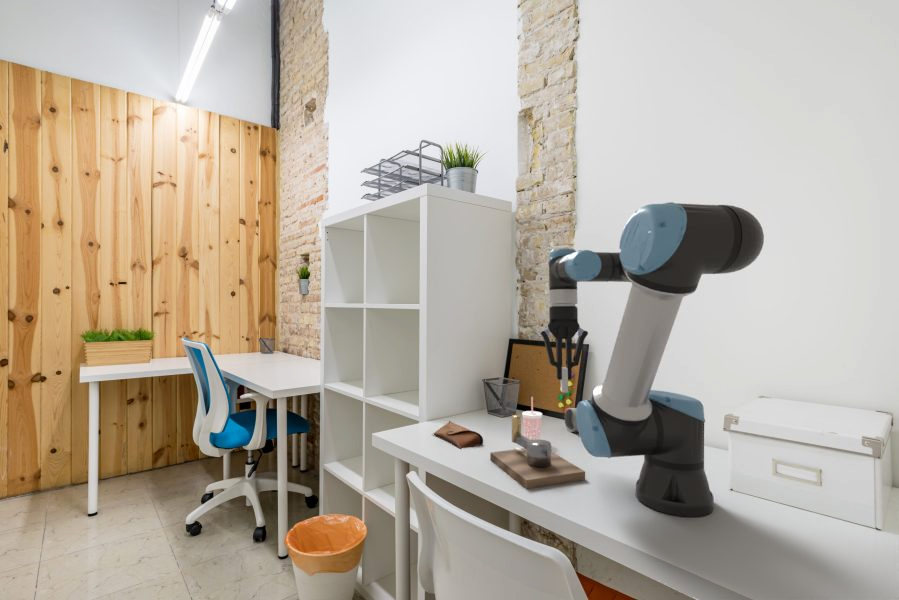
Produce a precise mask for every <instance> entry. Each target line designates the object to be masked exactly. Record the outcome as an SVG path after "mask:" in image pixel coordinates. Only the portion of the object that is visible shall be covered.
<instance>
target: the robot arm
mask: <svg viewBox="0 0 899 600" xmlns="http://www.w3.org/2000/svg"><path fill="white" fill-rule="evenodd" d="M761 225H762V224H761V223H760V221H759V220H758V219H757V217H755V215H753V214H752V213H751V212H749V211H748V210H746V209H744V208H741V207H739V206H734V205H730V204H729V205H728V204H701V203H700V204H698V203H697V204H695V203H677V202H676V203H675V202H673V201H671V202H663V203H649V204H646V205H644V206H641V207H640V208H639V209H637V210H636V211H635V212H634V213H633V214H632V215H631V216H630V217H629V218H628V220H627V221H626V224H625V225H624V227H623V229H622V232H621V235H620V240H619V250H620V251H619V252H609V251H608V252H607V251H606V252H605V251H604V252H603V251H602V252H600V251H599V252H597V251H592V250H590V249H583V250H582V249H581V250H577V251H576V249H574V248H557V249H556V248H555V249H552V250H550V251H549V253H548V255H549V256H548V263H547V264H548V285H549V287H548V288H549V289H548V291H549V292H548V293H549V295H548V297H549V298H548V299H549V305H551V306H549V312H548V313H549V314H548V315H549V316H548V317H549V322H548V324H547V327H546V328H545V329H542V330H541V331H540V332H539V333H540V336H541V337H542V339H543V341H544V346H545V350H546V353H547V354H546V355H547V358H548V362H549V364H550V365H551V366H553V367H555V368H556V379H557V380H559V381H560V392H562V393H563V394H564V393H565V394H566V393H569V381H570V380H572V377H573V376H572V375H573V374H572V371H573V370H572V368H573V367H577V366H579V364H580V359H581V356H582V355H581V354H582V351H583V346H584V344H585V343H584V342H585V339H586V337H587V336H588V334H589V332H588V331H587V330H584V329H583V328H581V327H580V323H579V322H578V321H579V320H578V314H579V313H578V310H579V309H578V306H576V305H577V304H578V282H579V283H580V282H584V283H585V282H587V283H589V282H590V283H591V282H592V283H593V282H598V283H599V282H601V283H602V282H603V283H604V282H611V283H612V282H617V283H618V282H619V283H620V282H622V283H623V282H624V283H631V287H630V291H629V293H628V298H627V301H626V305H625V307H624V311H623V315H622V318H621V322H620V326H619V329H618V332H617V336H616V339H615V343H614V346H613V349H612V354H611V357H610V361H609V365H608V366H607V367H608V368H607V370H606V374H605V378H604V382H601V383H599V384H598V385H596V386H595V387H594V389H593V392H592V395H591V399H590V400H588V399H584V400H581V401H579V402H578V403H577V405H576V408H577V410H576V420H577V427H578V431H579V432H578V434H579V437H580V441H581V443H582V446H583V447H584V449H585V450H586V451H587V453H589V454H590V455H591V456H593V457H595V458H608V459H611V458H621V457H635V456H636V457H637V456H638V457H639V456H643V458H644V459H643V462H642V463H643V464H642V466H641V469H640V473H639V477H638V479H637V481H636V483H635V497H636V498H637V500H638V501H639V502H640V503H642V505H644V506H646V507H648V508H650V509H653V510H655V511H658V512H660V513H662V514H663V513H664V514H666V515H667V514H668V515H673V516H678V517H688V518H689V517H690V518H694V517H695V518H696V517H703V516H708V515H710V514H711V513H713V511H714V508H715V501H714V500H715V499H714V494H713V493H712V491H711V490H710V485H709V481H708V477H707V475H706V471H705V423H706V420H705V419H706V418H705V411H704V410H705V409H704V405H703V403H702V402H701V401H700V400H698V399H697V398H694V397H692V396H688V395H684V394H680V393H677V392H676V393H675V392H671V391H664V390H657V389H655V390H654V389H652V386H653V384H654V380H655V378H656V375H657V372H658V370H659V367H660V364H661V362H662V358H663V355H664V353H665V350H666V347H667V344H668V341H669V338H670V335H671V332H672V329H673V327H674V325H675V321H676V318H677V316H678V312H679V310H680V308H681V307H680V306H681V304H682V301H683V299H684V297H686V296H688V295H689V296H690V295H691V294H692V295H693V294H694V293H695V292H696V291H697V289H698V285H699V283H700V280H701V277H702V275H707V274H708V275H716V274H719V275H720V274H722V275H723V274H730V273H731V274H732V273H735V272H738V271H741V270H743V269H745V268H747V267H749V266H751V265H752V264H753V262H755V261H756V260H757V258H758V257H759V255H760V254H761V252H762V250H763V246H764V242H765V241H764V240H765V235H764V231H763V227H762V226H761ZM550 333H551V335H552V336H553V337H554V339H555V354H556V355H554V352H553V348H552V345H551V344H552V343H551V340H550V338H549V337H550ZM576 334H577V336H578V337H577V341H576V344H575V345H576V346H575V350H574V353H572V350H573V347H572V344H573V343H572V342H573V338H574V336H575V335H576ZM563 340H564V342H565V344H564V345H565V367H564V366H563ZM572 356H573V357H572Z"/></svg>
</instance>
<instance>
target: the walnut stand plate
mask: <svg viewBox="0 0 899 600" xmlns="http://www.w3.org/2000/svg"><path fill="white" fill-rule="evenodd" d="M489 453H490V456H489V457H490V461H491V462H492V463H494V464H495V466H497V467H498V468H499V469H501V470H503V471H504V473H506V474H507V475H508V476H510V477H511V478H512V479H513V480H514V481H516V482H517V483H518V484H520V485H521V486H522V487H524V488H525V489H526V490H528V489H534V488H541V487H547V486H548V485H549V486H553V485H559V484H561V485H562V484H567V482H568V483H572V482H573V481H574V482H580V481H585V480H586V471H585V470H584V469H582V468H580V467H579V466H577V465H575V464H573V463H572V462H570V461H568V460H566V459H565V458H564V457H561V456H560V455H558V454H557V453H556V452H555V453H554V452H553V451H551V465H550V466H548V467H534V466H531V465H529V464H528V463H527V449H525V448H523V447H521V448H519V447H518V446H517V447H513V449H507V450H500V451H492V452H489ZM579 480H580V481H579Z"/></svg>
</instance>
